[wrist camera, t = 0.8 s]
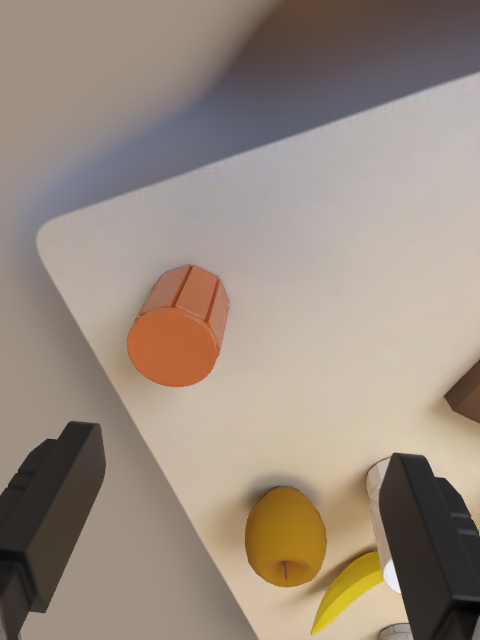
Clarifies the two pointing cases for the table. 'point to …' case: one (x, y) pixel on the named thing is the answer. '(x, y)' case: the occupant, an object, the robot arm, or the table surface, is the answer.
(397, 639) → the mug
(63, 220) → the table surface
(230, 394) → the table surface
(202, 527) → the table surface
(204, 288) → the orange cup
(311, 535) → the apple
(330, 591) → the banana
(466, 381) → the cup stand
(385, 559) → the white cup
